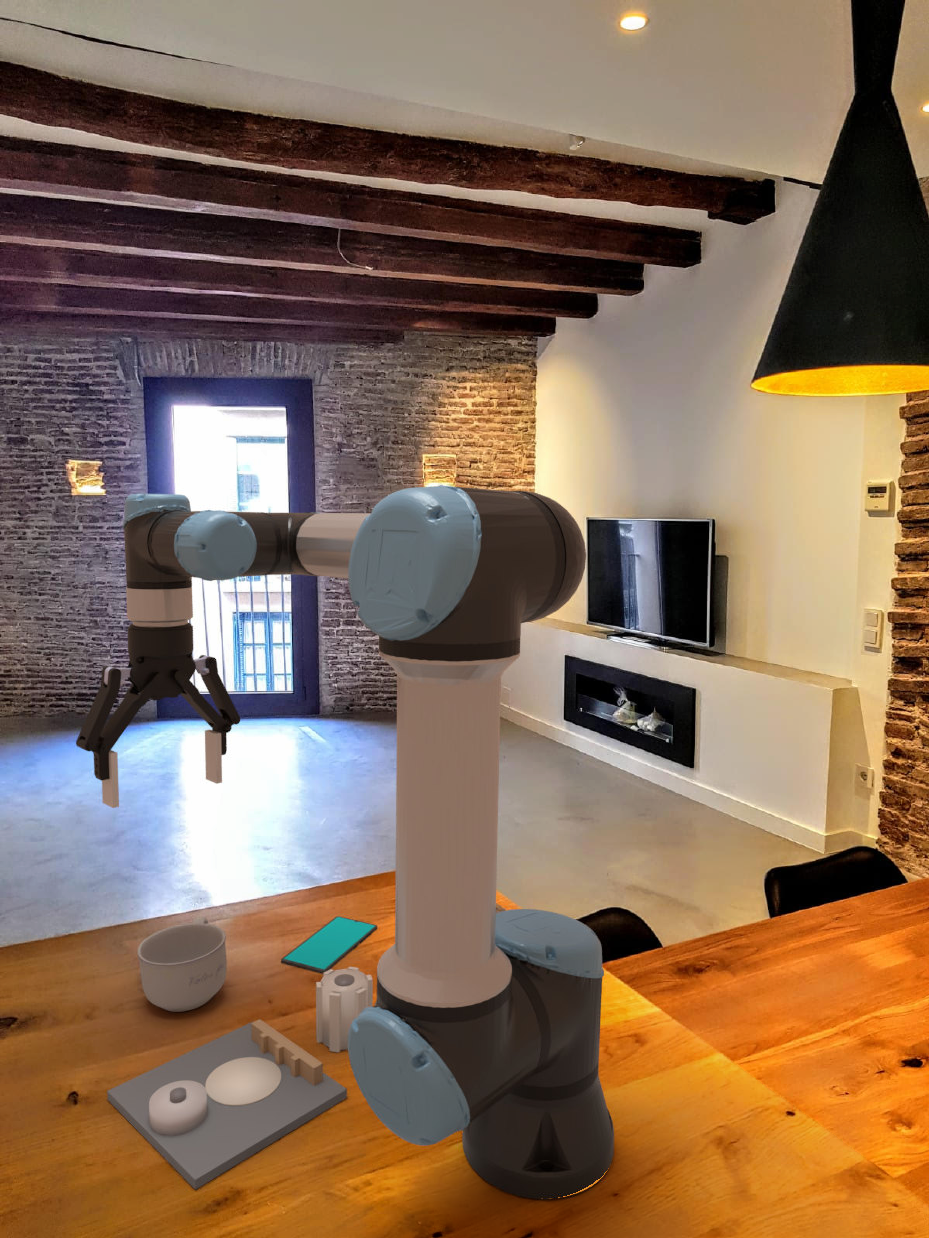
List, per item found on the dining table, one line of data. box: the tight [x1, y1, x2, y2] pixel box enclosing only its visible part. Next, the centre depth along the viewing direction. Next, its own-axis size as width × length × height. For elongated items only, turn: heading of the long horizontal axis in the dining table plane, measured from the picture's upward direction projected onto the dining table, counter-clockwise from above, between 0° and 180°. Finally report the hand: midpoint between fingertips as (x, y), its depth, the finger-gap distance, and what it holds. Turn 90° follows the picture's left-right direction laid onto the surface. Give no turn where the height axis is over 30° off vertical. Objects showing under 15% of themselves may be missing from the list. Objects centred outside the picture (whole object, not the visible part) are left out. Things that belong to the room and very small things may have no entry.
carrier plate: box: [106, 1018, 348, 1190], centre depth 93 cm, size 18×18×4 cm
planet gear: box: [315, 966, 374, 1053], centre depth 105 cm, size 7×6×7 cm
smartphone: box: [280, 915, 378, 975], centre depth 127 cm, size 7×1×15 cm
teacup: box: [136, 916, 227, 1013], centre depth 114 cm, size 14×11×8 cm
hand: (164, 792), depth 108 cm, fingers open, 13 cm apart
